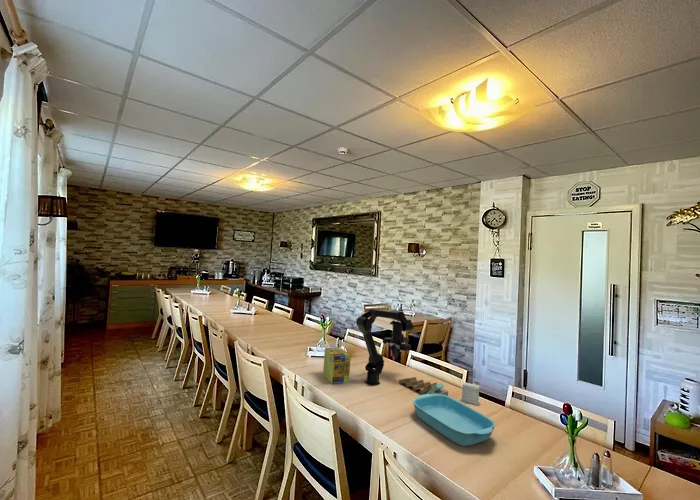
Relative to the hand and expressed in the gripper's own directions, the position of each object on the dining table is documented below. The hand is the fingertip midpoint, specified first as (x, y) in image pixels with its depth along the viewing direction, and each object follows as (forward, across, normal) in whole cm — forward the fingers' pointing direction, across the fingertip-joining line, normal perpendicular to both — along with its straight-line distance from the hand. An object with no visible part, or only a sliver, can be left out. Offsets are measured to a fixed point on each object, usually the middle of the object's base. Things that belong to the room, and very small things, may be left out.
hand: (395, 358), depth 187 cm
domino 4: (+11, -22, 0) cm, 25 cm away
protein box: (+12, +16, +31) cm, 37 cm away
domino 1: (+11, -6, 0) cm, 13 cm away
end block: (+12, -32, 0) cm, 35 cm away
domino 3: (+11, -17, 0) cm, 20 cm away
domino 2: (+11, -12, 0) cm, 16 cm away
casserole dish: (+12, -51, +16) cm, 55 cm away
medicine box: (+12, -41, -14) cm, 45 cm away
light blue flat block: (+11, -27, 0) cm, 29 cm away
